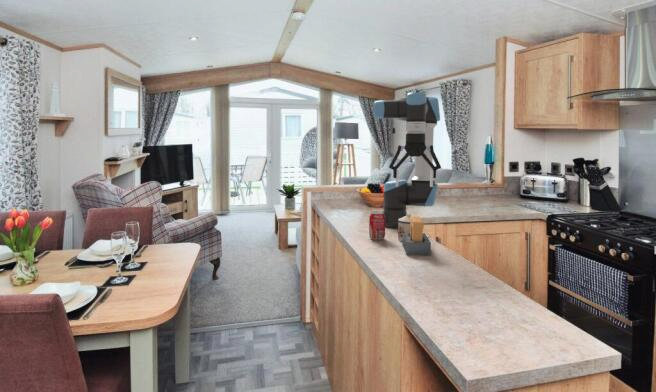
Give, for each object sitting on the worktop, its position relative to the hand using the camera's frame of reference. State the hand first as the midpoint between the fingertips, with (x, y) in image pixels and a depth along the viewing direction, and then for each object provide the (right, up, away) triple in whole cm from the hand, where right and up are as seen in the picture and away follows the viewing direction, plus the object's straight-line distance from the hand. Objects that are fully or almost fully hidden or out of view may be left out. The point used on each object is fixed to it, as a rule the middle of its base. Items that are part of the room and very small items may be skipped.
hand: (414, 186), depth 176 cm
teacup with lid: (+1, -24, +17) cm, 29 cm away
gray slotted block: (+1, -25, +1) cm, 26 cm away
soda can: (-13, -23, +20) cm, 33 cm away
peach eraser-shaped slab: (+1, -25, +1) cm, 26 cm away
